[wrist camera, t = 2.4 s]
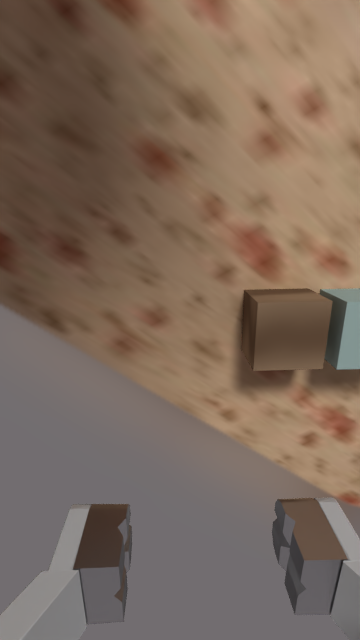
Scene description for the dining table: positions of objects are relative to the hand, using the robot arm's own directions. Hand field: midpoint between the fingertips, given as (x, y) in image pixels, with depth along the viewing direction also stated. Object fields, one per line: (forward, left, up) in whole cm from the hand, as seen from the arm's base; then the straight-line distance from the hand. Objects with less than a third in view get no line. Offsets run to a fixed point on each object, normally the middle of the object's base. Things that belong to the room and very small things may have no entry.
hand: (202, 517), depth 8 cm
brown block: (0, +7, -17) cm, 19 cm away
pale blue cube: (0, +13, -17) cm, 22 cm away
